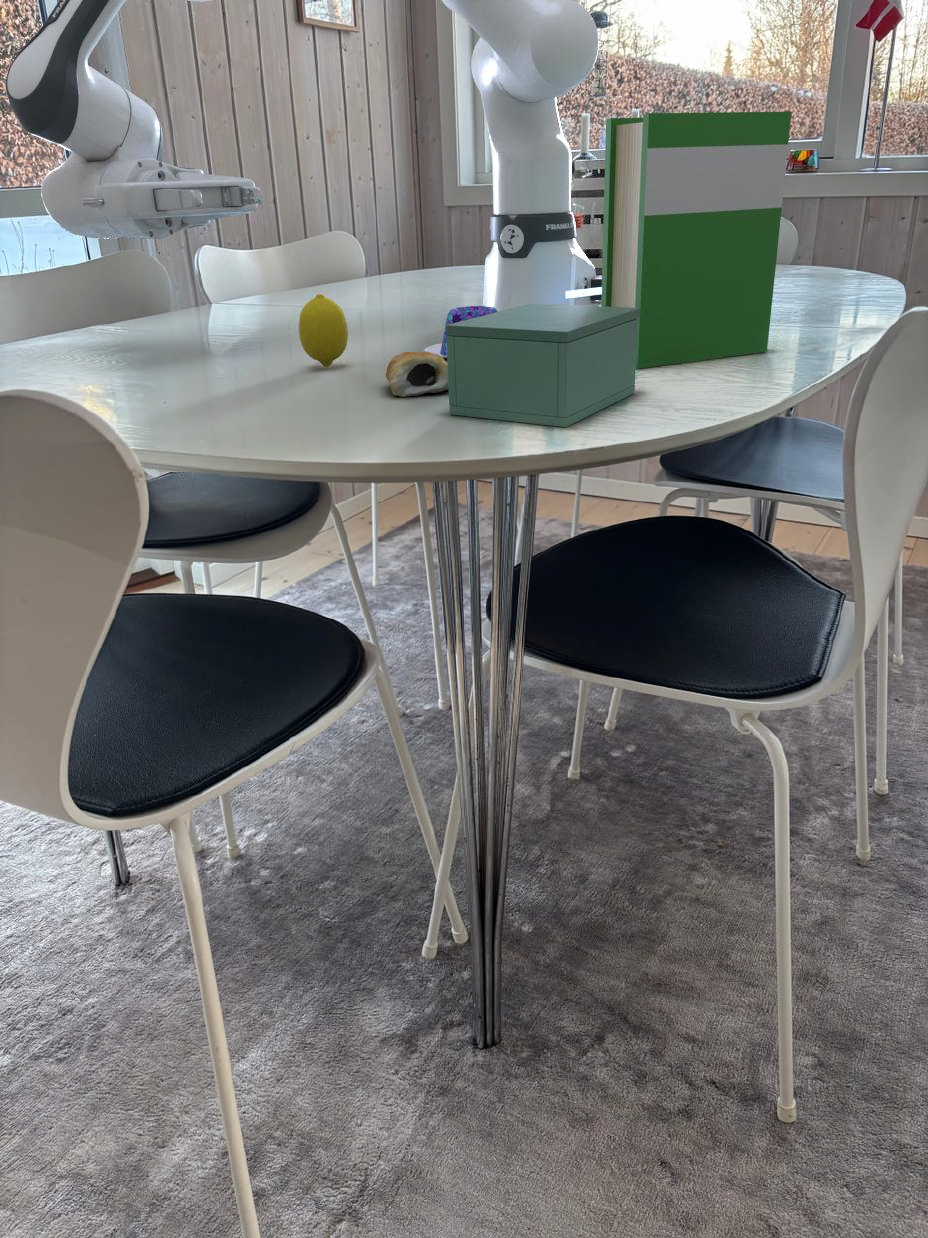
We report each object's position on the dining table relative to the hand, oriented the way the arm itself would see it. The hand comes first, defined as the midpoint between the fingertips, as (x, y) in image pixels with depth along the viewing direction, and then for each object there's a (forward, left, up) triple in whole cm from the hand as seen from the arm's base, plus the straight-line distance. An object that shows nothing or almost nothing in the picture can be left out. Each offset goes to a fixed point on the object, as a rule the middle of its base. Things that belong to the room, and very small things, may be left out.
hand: (228, 197), depth 104 cm
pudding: (-13, +24, -18) cm, 33 cm away
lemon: (0, +12, -18) cm, 22 cm away
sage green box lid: (+7, +44, -11) cm, 46 cm away
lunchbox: (+7, +44, -18) cm, 48 cm away
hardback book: (-21, +47, -18) cm, 55 cm away
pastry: (+6, +29, -18) cm, 35 cm away
